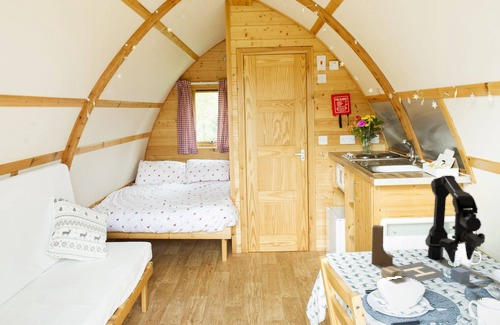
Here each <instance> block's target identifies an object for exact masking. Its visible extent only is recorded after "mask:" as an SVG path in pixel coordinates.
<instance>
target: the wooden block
mask: <svg viewBox="0 0 500 325" xmlns="http://www.w3.org/2000/svg"><path fill="white" fill-rule="evenodd" d="M371 230H372V232H371V265H377V266H385V267H389V266H393V265H394V264H393V263H394V262H393V261H394V259H393V258H394V255H393V254H390V253H387V252H386V250H385V249H384V225H379V224H378V225H377V224H375V225H373V226H372V229H371Z"/></svg>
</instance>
